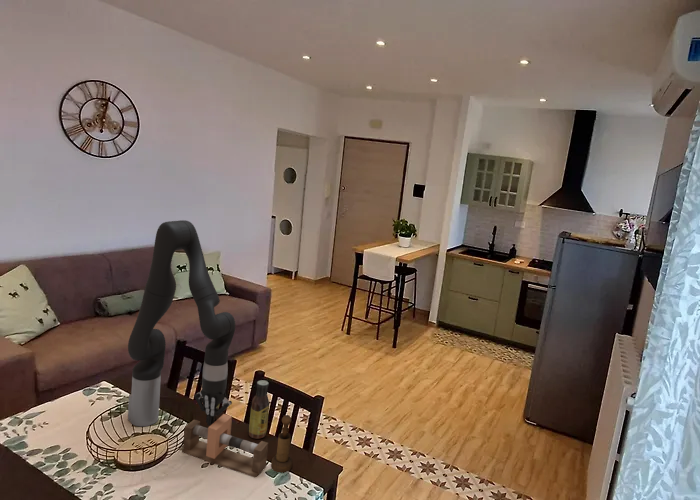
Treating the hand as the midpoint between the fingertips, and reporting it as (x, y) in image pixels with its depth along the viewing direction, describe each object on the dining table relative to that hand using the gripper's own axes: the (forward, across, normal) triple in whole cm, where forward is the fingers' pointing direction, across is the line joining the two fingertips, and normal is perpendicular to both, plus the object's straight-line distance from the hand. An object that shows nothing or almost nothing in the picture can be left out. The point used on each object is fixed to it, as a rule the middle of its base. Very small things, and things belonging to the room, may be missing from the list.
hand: (211, 424), depth 155 cm
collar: (+8, +3, 0) cm, 9 cm away
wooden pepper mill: (+11, +24, +5) cm, 27 cm away
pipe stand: (+11, +6, 0) cm, 12 cm away
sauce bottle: (+11, +9, +17) cm, 22 cm away
